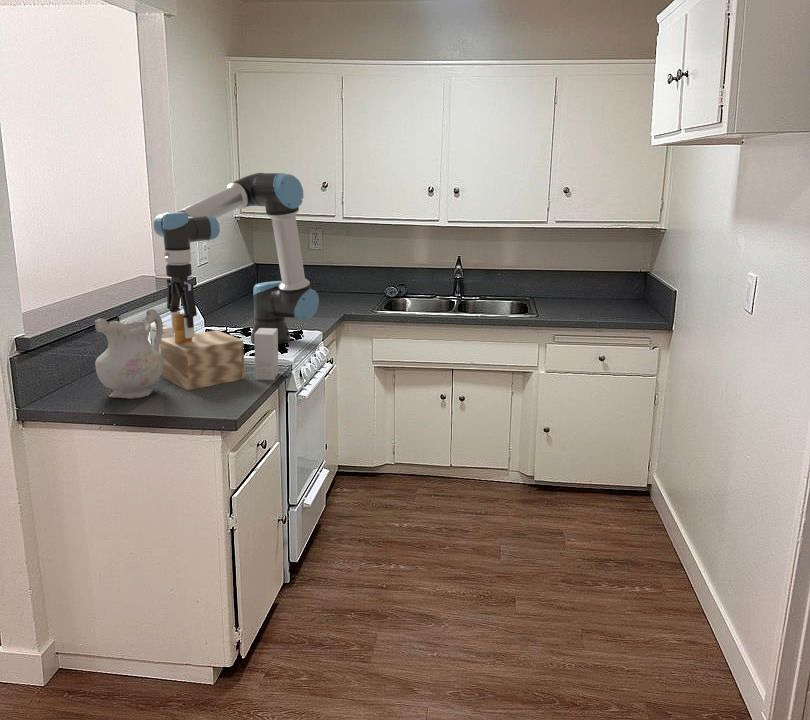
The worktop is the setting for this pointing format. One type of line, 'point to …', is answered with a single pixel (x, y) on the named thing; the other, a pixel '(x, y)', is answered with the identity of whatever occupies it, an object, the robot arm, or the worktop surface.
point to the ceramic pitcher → (130, 357)
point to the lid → (197, 338)
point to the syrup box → (165, 334)
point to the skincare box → (266, 353)
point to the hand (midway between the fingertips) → (183, 334)
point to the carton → (203, 365)
